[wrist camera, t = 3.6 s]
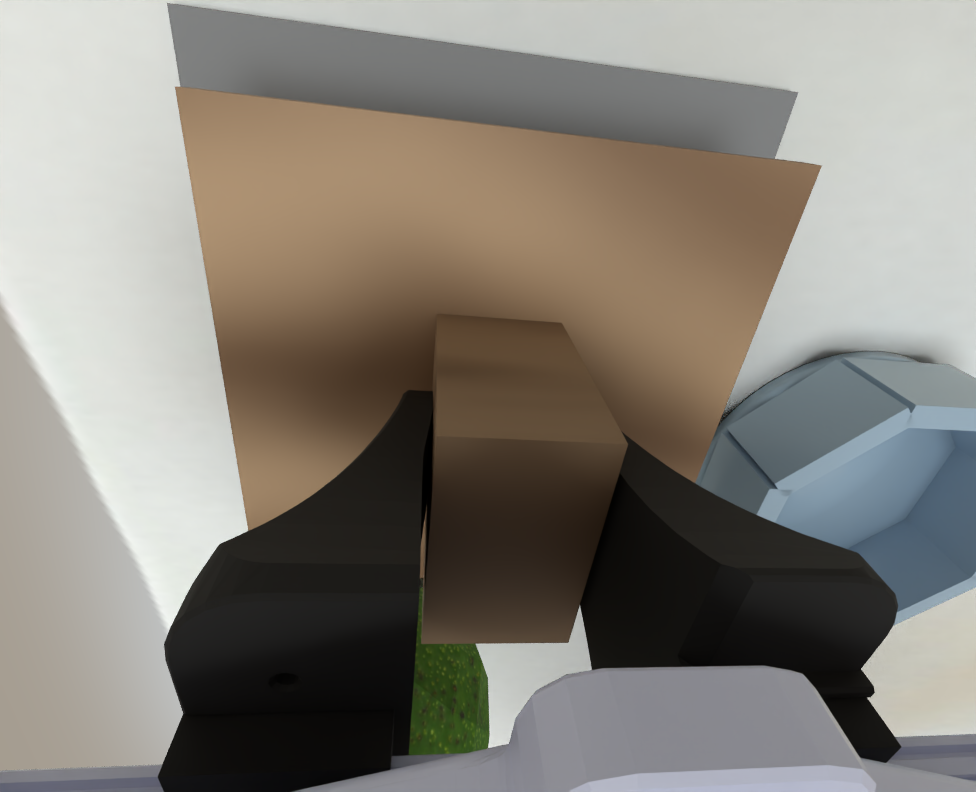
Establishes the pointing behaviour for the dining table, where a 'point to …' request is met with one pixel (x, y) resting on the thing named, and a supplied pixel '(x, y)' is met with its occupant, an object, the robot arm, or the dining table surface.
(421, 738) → the avocado
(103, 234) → the dining table surface
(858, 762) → the robot arm
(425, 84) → the mat
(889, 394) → the bowl
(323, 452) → the cover board
